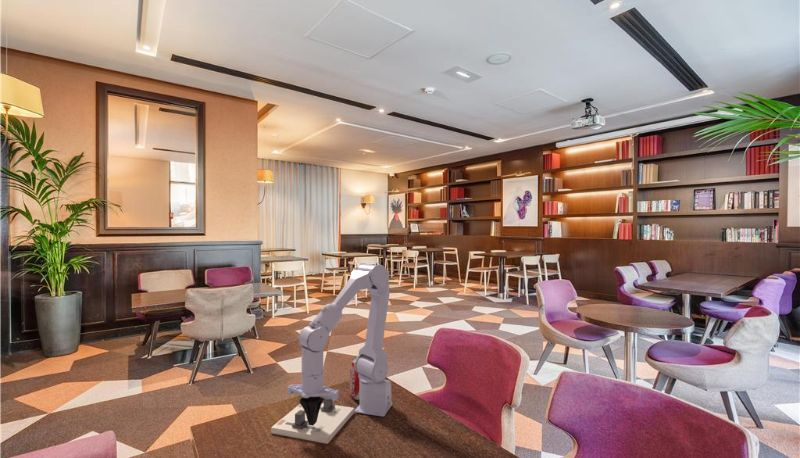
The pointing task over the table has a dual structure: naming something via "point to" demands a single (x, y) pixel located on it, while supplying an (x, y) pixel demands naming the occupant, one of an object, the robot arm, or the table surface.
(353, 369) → the soda can
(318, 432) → the breaker panel
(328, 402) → the block
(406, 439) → the table surface
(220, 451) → the table surface
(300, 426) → the breaker
